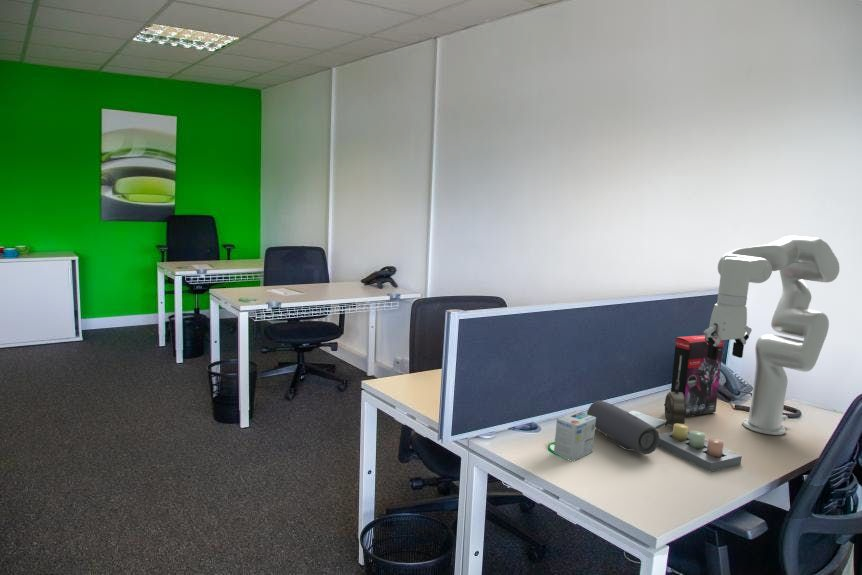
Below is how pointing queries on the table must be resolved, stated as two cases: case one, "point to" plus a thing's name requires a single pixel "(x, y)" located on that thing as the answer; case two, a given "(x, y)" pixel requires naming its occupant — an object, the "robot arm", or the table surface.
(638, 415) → the external hard drive
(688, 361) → the graphics card box
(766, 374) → the robot arm
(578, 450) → the light bulb box
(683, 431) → the ochre button
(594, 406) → the bluetooth speaker
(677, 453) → the button board
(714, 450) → the terracotta button
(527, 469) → the table surface
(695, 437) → the green button
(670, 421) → the alarm clock
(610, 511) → the table surface
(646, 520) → the table surface
